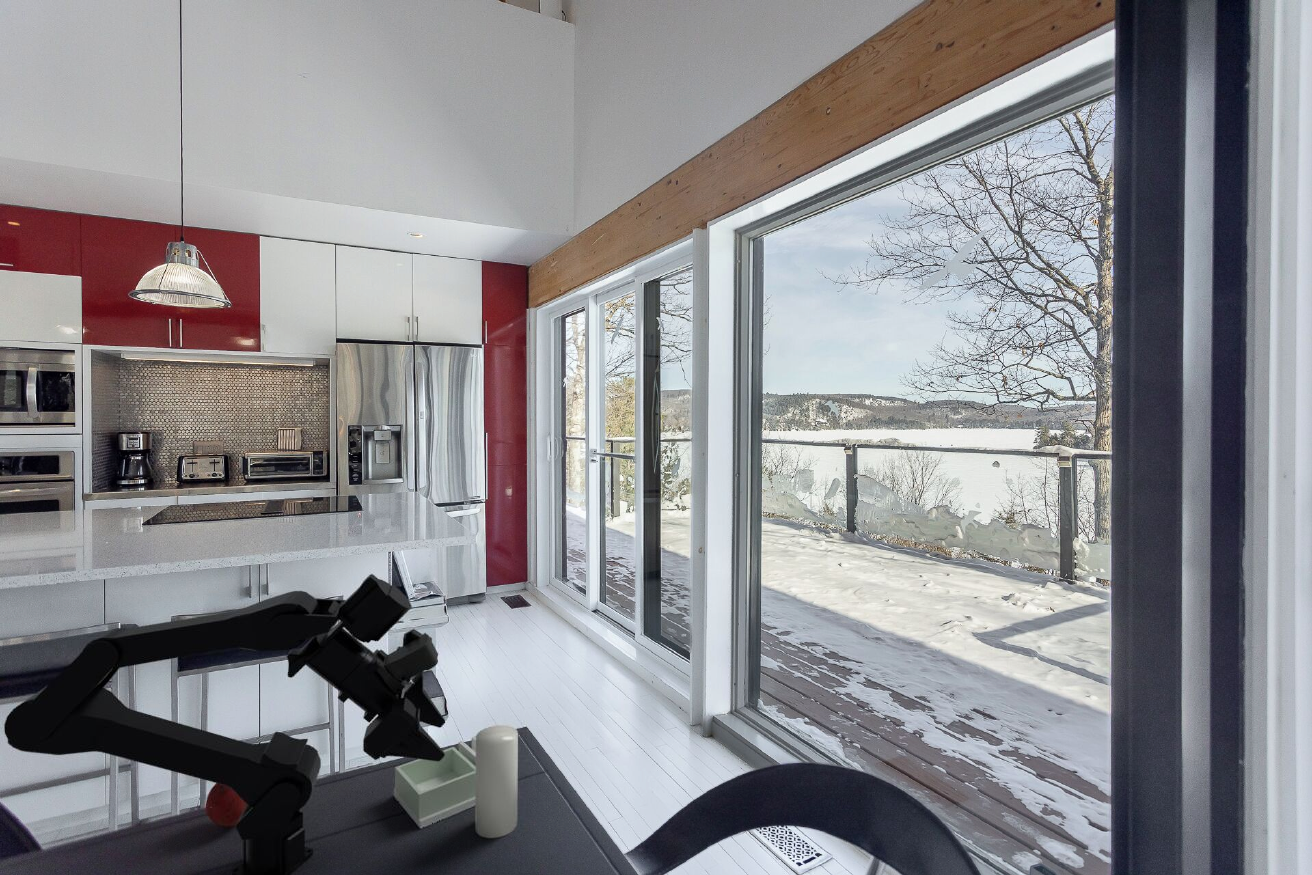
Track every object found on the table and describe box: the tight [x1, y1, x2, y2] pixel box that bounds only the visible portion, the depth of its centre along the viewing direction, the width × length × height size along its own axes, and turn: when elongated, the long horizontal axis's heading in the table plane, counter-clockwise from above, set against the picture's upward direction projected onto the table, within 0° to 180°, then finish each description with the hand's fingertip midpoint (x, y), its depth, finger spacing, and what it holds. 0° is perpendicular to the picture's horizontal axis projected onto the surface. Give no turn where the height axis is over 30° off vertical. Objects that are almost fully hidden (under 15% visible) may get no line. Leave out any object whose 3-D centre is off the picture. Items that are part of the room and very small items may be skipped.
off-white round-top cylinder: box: [474, 724, 519, 839], centre depth 87 cm, size 6×6×12 cm
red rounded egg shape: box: [205, 783, 247, 827], centre depth 86 cm, size 6×6×8 cm
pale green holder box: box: [393, 735, 476, 829], centre depth 94 cm, size 13×10×5 cm
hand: (442, 740), depth 85 cm, fingers open, 9 cm apart
